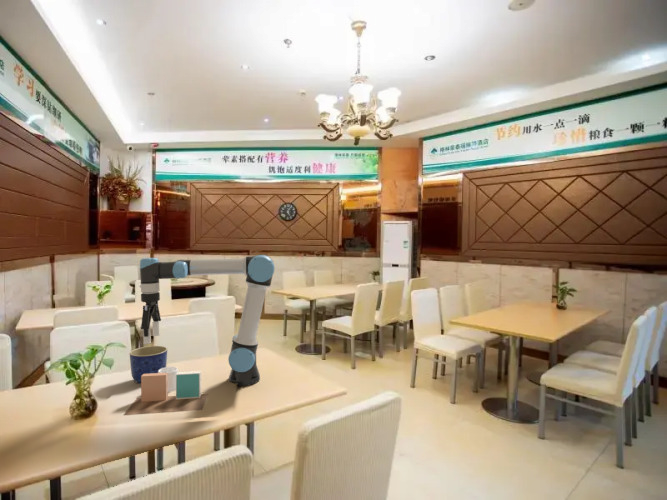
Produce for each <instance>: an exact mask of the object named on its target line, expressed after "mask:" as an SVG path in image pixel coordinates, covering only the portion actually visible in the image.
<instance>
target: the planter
mask: <svg viewBox="0 0 667 500" xmlns="http://www.w3.org/2000/svg"><path fill="white" fill-rule="evenodd" d="M167 359H168V348H167V347H166V346H161V345H149V346H142V347H138V348H135V349H132V350H130V352H129V362H130V374H131V377H132V379H133V381H134V382H135V383H138V384H141V376H142V375H143V374H151V373H158V370H160V369H162V368H165V367H167Z"/></svg>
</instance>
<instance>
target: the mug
mask: <svg viewBox="0 0 667 500" xmlns="http://www.w3.org/2000/svg"><path fill="white" fill-rule="evenodd" d="M177 372H179V369H178V367H177V366H166V367H165V368H162V369H160V370H158V373H168V393H172V392H174V391H175V392H176V373H177Z"/></svg>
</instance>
